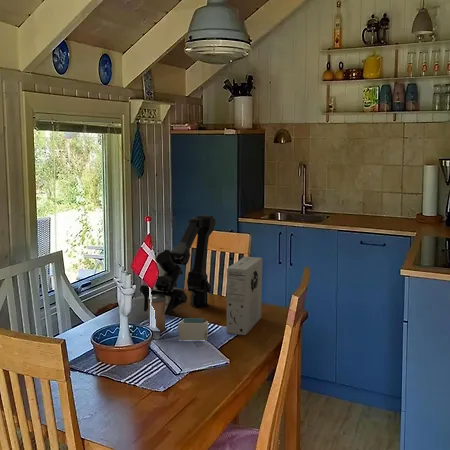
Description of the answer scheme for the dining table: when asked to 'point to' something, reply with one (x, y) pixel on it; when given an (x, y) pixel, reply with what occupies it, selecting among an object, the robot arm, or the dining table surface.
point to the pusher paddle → (193, 320)
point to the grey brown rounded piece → (158, 310)
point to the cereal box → (244, 295)
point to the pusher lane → (192, 331)
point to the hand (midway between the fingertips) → (154, 313)
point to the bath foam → (156, 288)
